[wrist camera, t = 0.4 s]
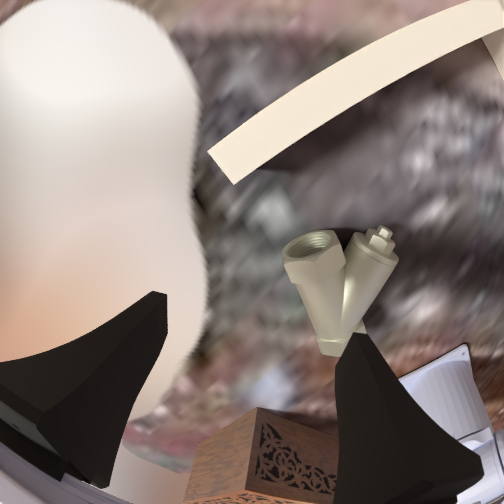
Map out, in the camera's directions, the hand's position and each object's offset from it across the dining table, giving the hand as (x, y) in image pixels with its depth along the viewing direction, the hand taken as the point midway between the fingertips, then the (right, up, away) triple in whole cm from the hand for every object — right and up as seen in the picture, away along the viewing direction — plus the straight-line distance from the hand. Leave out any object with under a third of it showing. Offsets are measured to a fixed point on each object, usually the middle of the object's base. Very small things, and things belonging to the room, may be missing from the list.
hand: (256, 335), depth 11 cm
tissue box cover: (+7, -25, +23) cm, 34 cm away
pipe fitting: (+6, +2, +9) cm, 11 cm away
